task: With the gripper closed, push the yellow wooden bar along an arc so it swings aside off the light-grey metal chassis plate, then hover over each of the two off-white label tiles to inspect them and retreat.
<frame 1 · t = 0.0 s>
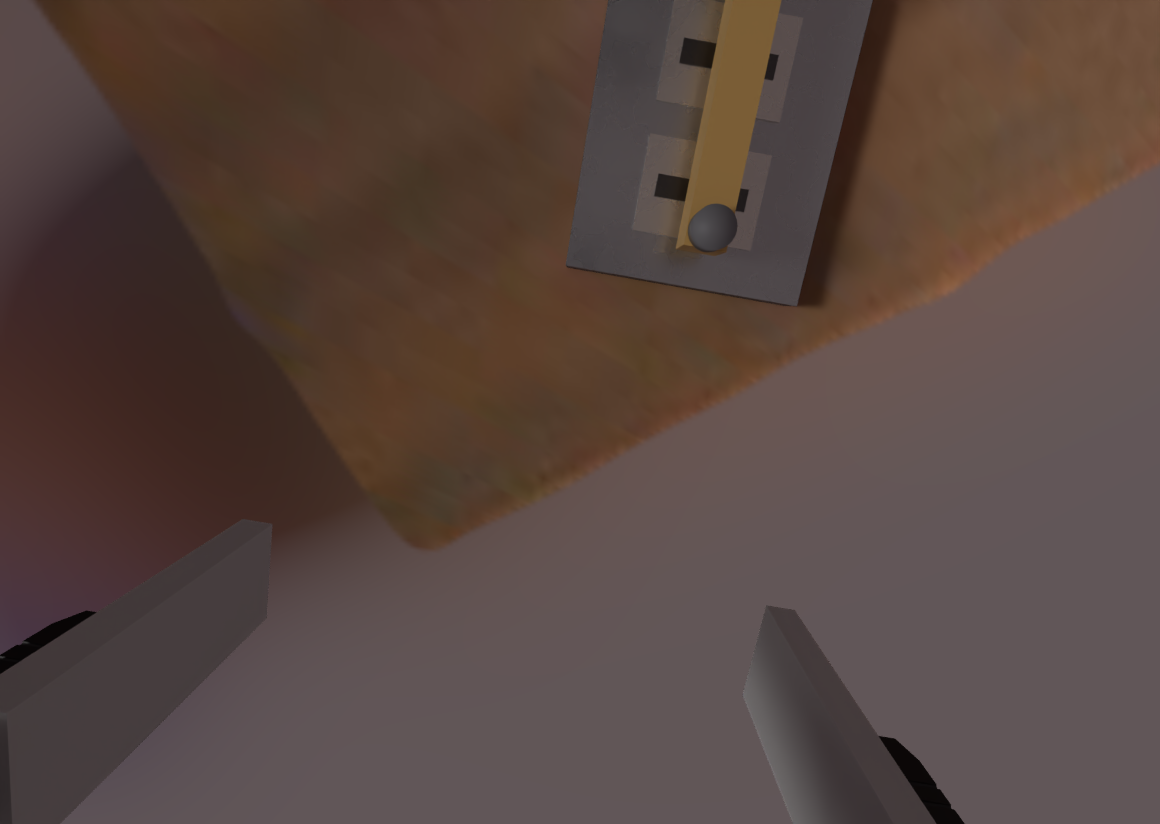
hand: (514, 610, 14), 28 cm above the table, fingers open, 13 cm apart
chassis: (708, 124, 37), on the table
yellow wooden bar: (740, 67, 30), point 7 cm above the table, hinge at 0.0°
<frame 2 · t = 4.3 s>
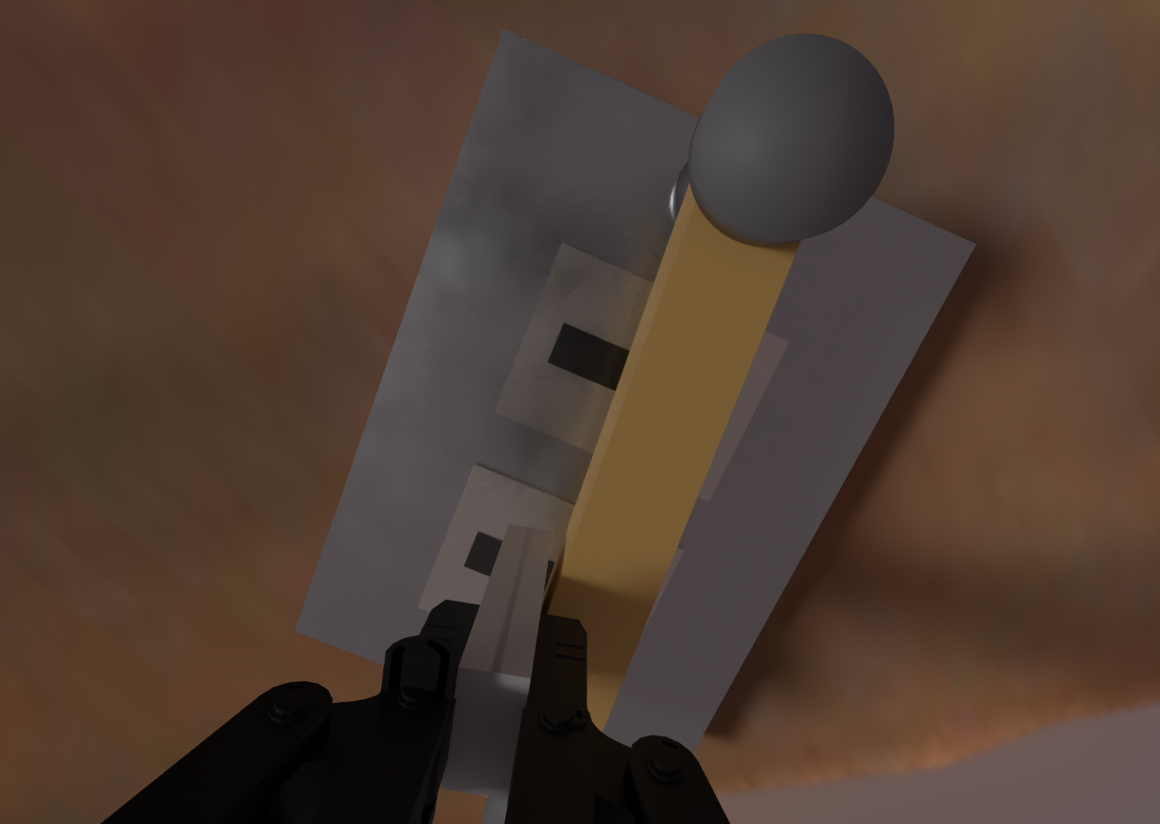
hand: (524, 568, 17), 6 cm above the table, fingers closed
chassis: (602, 437, 21), on the table
yellow wooden bar: (639, 490, 14), point 7 cm above the table, hinge at 4.5°, touching gripper
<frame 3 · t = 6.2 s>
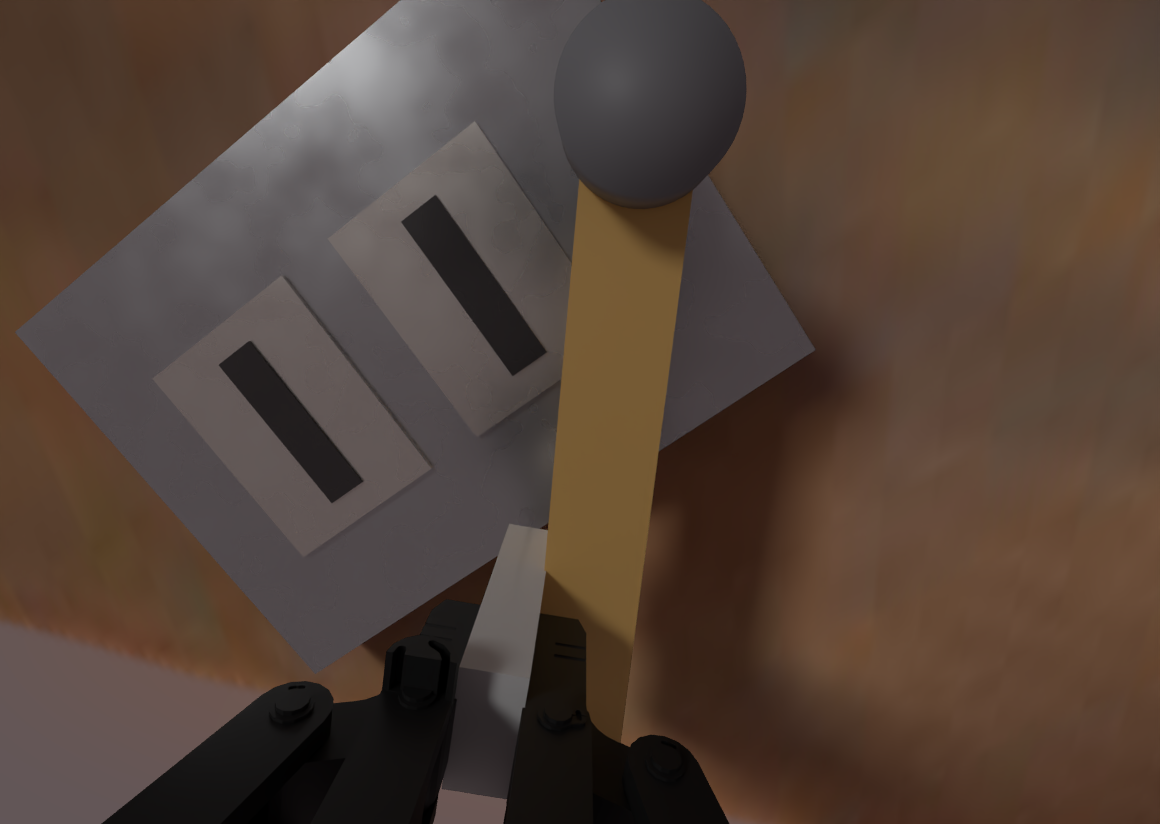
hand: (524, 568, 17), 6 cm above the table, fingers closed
chassis: (429, 335, 21), on the table
yellow wooden bar: (602, 473, 14), point 7 cm above the table, hinge at 49.6°, touching gripper
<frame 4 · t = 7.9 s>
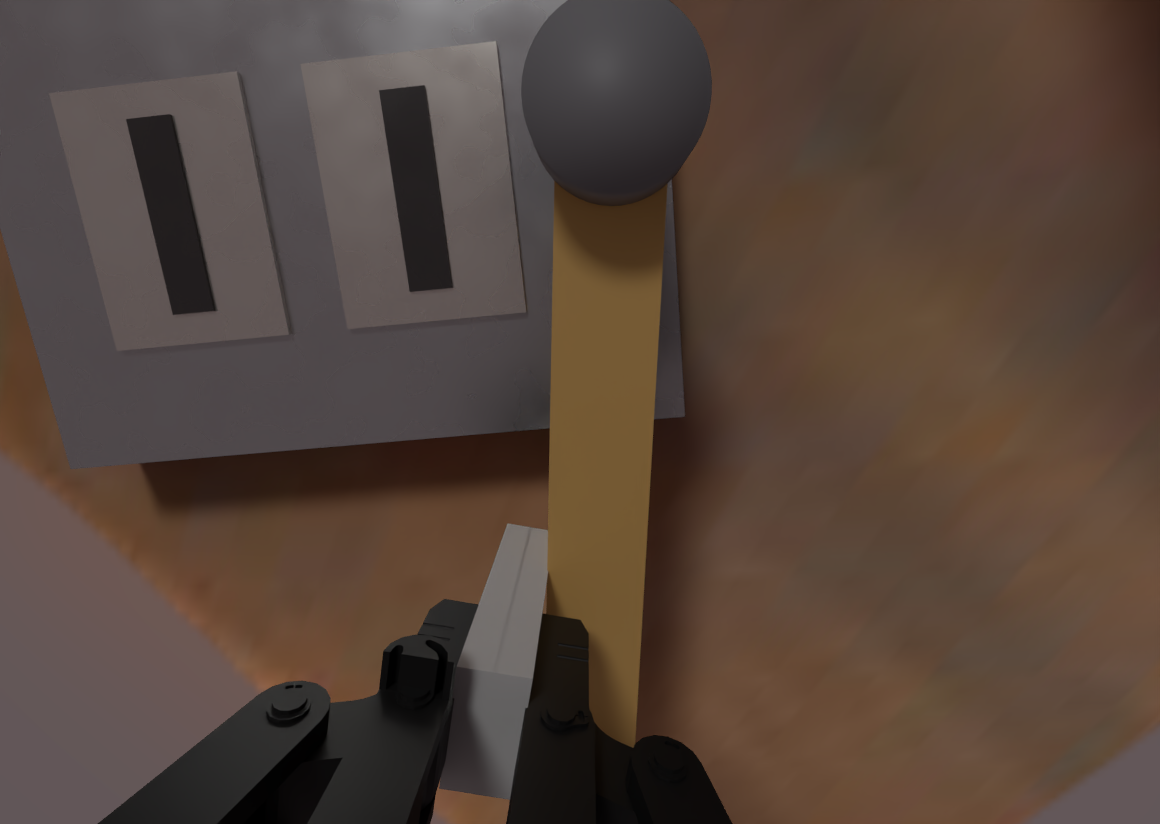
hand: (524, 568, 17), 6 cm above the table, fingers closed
chassis: (360, 215, 20), on the table
yellow wooden bar: (599, 471, 14), point 7 cm above the table, hinge at 83.0°, touching gripper
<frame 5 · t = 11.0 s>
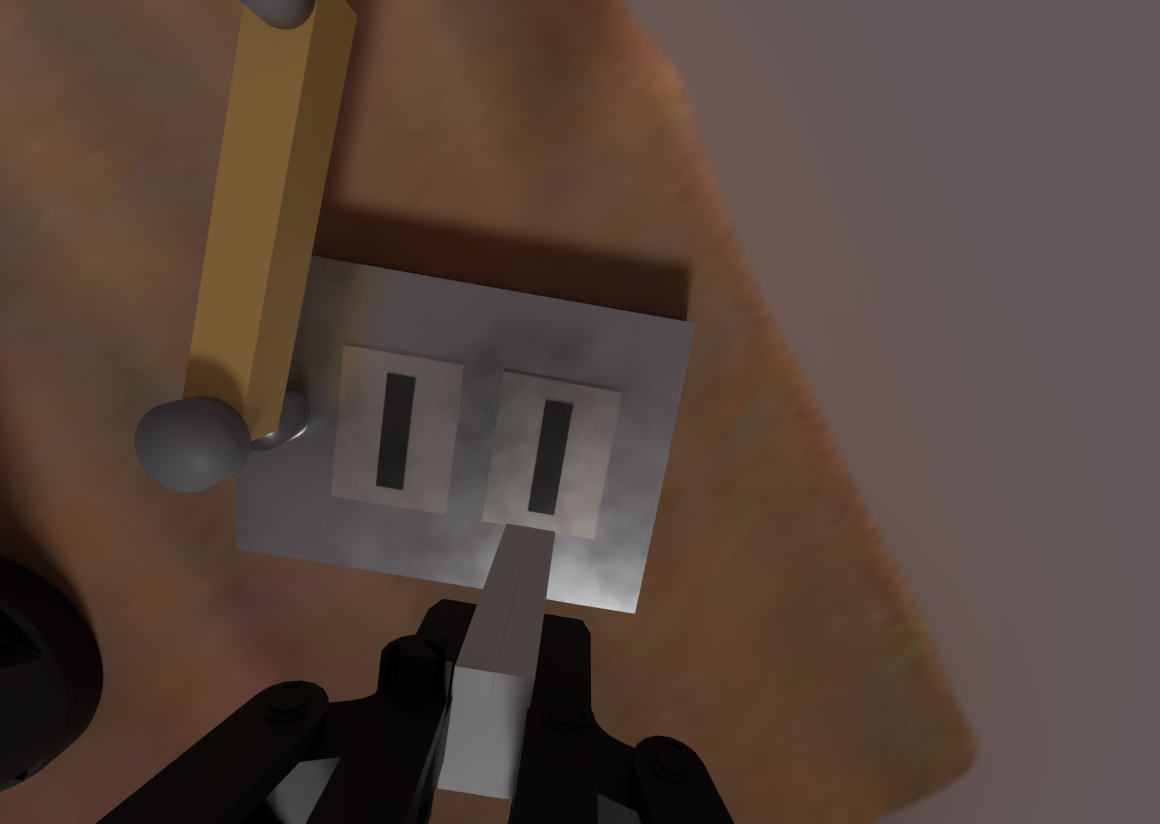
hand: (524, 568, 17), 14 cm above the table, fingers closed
chassis: (465, 429, 31), on the table
yellow wooden bar: (251, 242, 22), point 7 cm above the table, hinge at 83.0°
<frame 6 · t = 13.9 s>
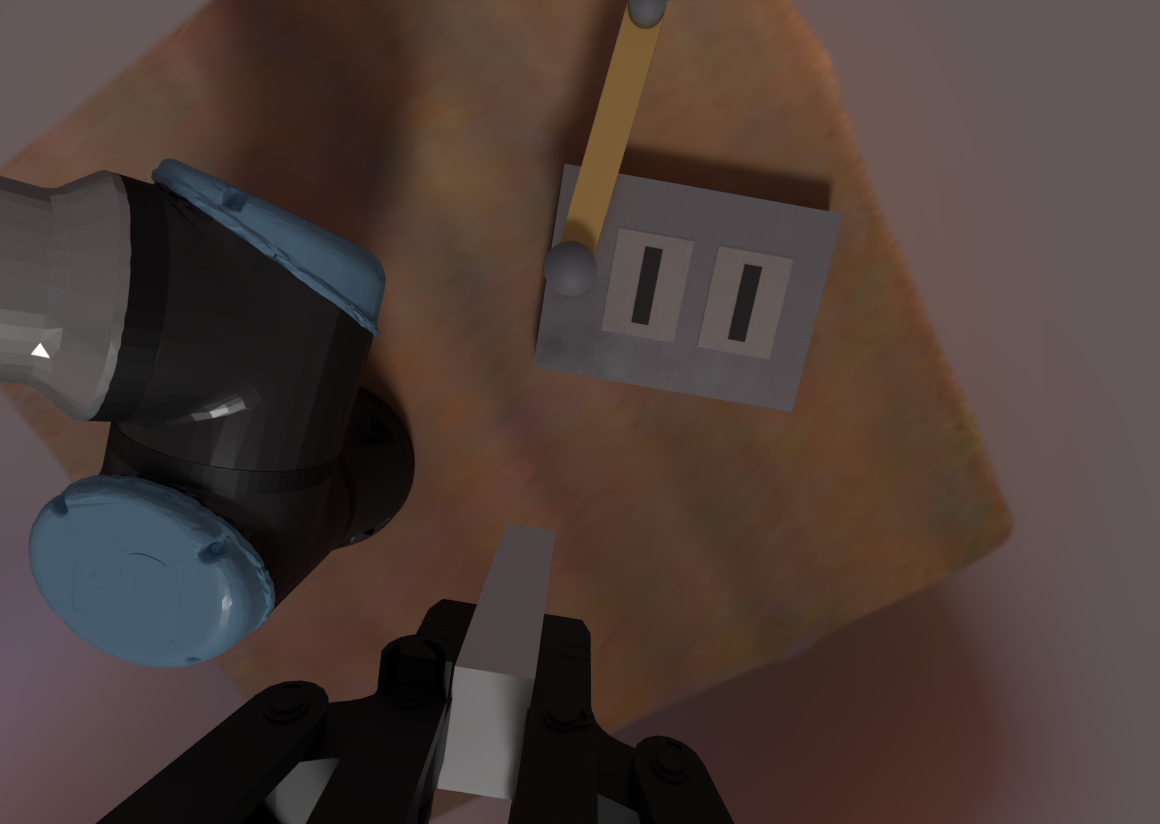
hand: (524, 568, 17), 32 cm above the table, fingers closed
chassis: (678, 293, 47), on the table
yellow wooden bar: (605, 152, 38), point 7 cm above the table, hinge at 83.0°
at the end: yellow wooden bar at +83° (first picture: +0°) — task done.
